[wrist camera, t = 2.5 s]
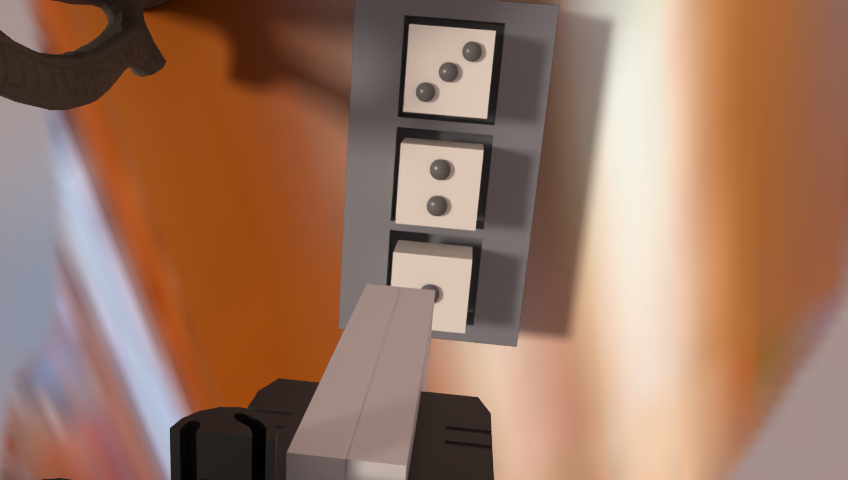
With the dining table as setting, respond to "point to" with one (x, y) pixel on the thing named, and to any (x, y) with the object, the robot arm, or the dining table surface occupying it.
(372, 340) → the robot arm
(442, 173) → the cream square block
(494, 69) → the grey dice tray
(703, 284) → the dining table surface
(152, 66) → the beer stein
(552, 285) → the dining table surface
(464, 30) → the tile
